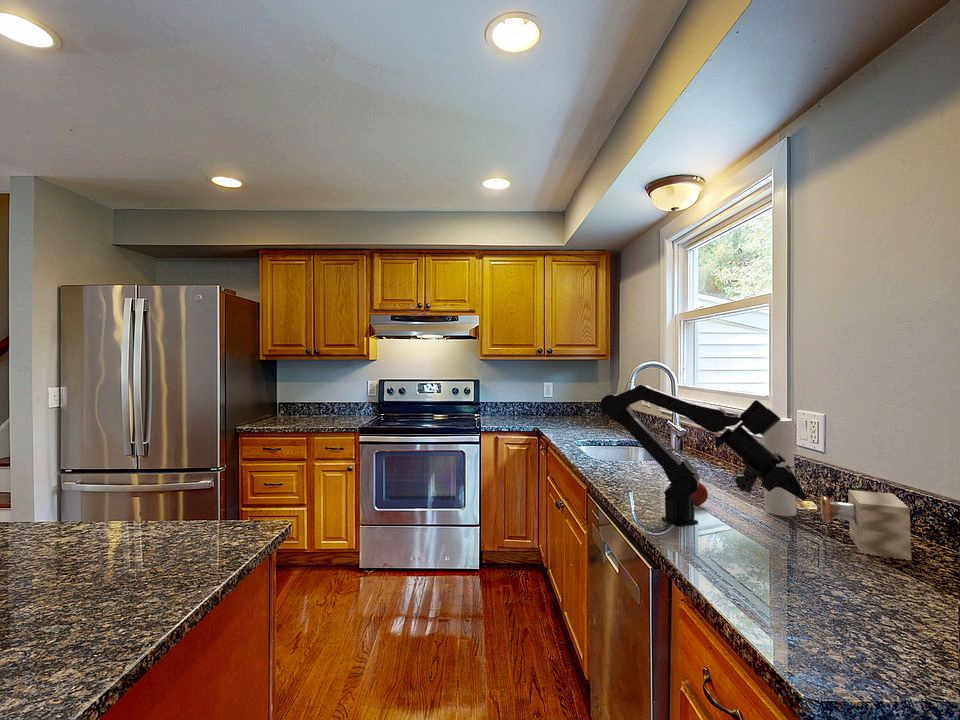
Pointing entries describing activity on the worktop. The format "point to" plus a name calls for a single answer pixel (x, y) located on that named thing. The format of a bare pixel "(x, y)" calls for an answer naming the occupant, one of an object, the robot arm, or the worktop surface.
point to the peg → (837, 510)
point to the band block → (880, 524)
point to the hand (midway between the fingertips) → (805, 498)
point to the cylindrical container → (783, 444)
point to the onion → (699, 495)
